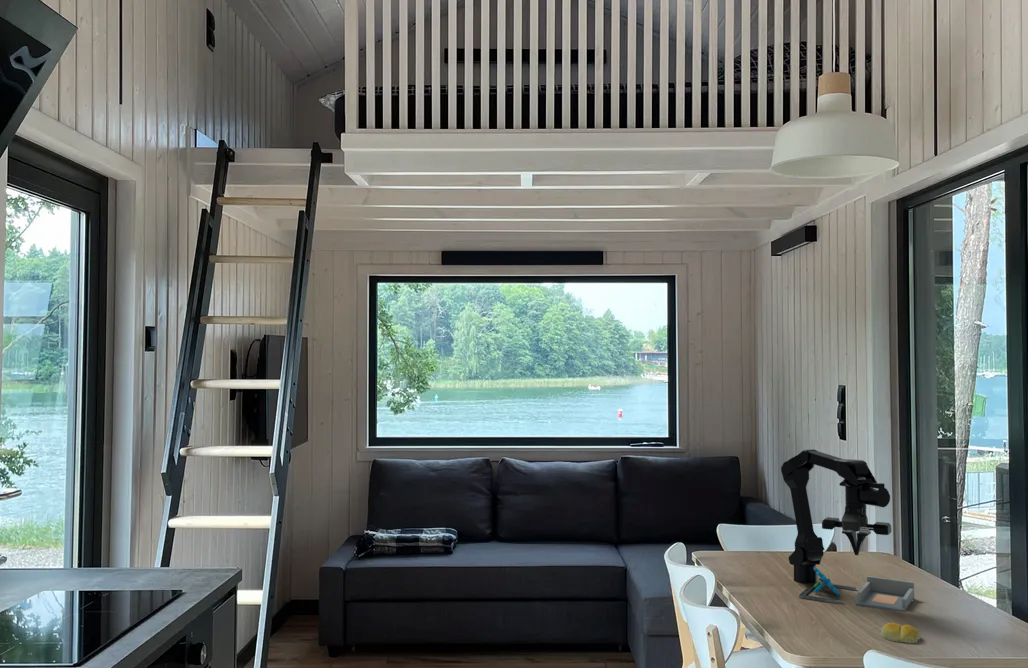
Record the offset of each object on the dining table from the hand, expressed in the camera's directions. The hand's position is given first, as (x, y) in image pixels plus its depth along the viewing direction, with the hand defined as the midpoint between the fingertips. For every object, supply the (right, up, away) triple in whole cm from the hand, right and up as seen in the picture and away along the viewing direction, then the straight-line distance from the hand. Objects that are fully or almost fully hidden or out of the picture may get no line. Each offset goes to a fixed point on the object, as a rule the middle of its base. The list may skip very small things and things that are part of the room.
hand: (856, 555), depth 251 cm
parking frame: (-7, -13, +4) cm, 15 cm away
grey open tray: (+7, -13, -5) cm, 15 cm away
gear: (-5, -14, +4) cm, 16 cm away
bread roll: (-8, -12, -39) cm, 42 cm away
